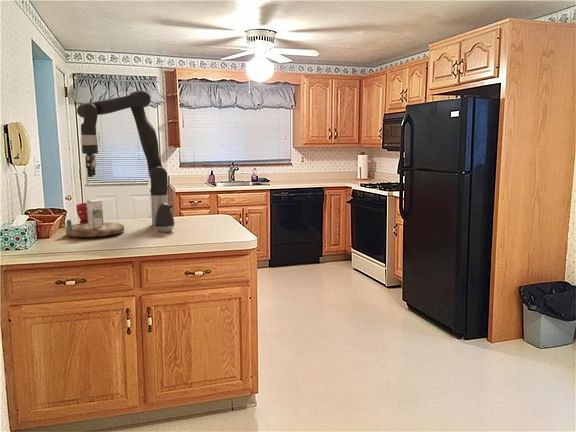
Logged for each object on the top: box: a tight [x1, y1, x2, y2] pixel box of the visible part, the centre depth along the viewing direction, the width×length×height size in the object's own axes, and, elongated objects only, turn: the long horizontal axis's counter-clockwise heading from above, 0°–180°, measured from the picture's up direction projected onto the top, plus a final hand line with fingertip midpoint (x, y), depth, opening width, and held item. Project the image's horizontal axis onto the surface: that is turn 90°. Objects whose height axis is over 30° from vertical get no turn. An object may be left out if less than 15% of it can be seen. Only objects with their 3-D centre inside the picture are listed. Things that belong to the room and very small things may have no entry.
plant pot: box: [76, 202, 88, 225], centre depth 273 cm, size 13×13×12 cm
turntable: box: [65, 219, 125, 238], centre depth 245 cm, size 28×28×7 cm
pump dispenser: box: [154, 203, 175, 233], centre depth 250 cm, size 10×10×15 cm
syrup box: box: [85, 198, 104, 229], centre depth 244 cm, size 6×6×14 cm
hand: (91, 176), depth 240 cm, fingers open, 8 cm apart
